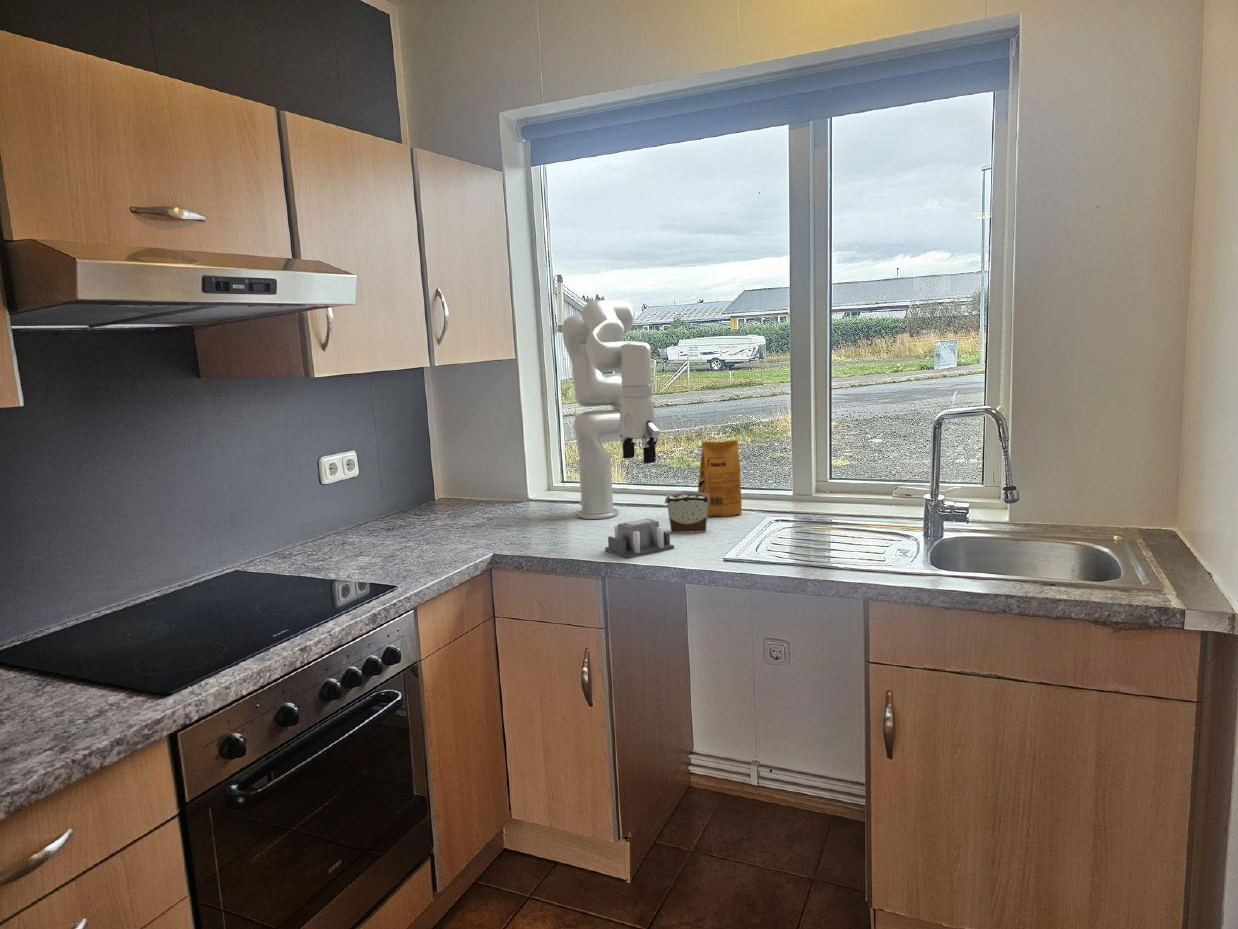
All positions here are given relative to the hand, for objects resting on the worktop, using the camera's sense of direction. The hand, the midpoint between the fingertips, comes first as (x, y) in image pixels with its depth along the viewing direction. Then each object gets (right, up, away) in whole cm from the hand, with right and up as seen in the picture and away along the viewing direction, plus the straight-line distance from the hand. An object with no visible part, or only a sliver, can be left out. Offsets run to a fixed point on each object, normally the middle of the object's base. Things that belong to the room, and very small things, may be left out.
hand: (639, 460), depth 204 cm
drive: (0, -22, -2) cm, 22 cm away
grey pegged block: (0, -22, -2) cm, 22 cm away
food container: (+14, -19, +17) cm, 29 cm away
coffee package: (+25, -16, +35) cm, 46 cm away
